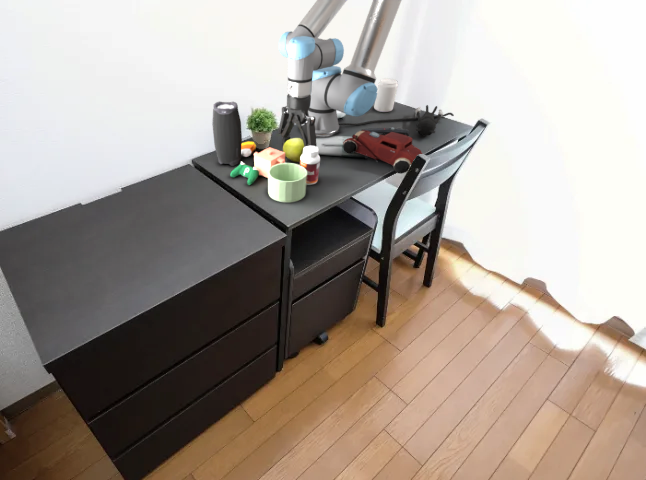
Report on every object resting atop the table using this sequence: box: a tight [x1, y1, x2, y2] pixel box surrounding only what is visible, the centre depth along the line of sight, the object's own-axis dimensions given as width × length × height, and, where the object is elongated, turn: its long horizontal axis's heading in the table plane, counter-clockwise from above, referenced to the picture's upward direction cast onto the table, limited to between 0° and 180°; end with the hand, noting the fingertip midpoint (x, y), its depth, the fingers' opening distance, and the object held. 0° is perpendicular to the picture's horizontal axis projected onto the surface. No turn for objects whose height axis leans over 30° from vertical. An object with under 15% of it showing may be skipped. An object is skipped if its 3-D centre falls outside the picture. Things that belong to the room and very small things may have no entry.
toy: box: [414, 104, 444, 137], centre depth 152 cm, size 11×6×30 cm
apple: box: [282, 137, 304, 163], centre depth 131 cm, size 8×9×8 cm
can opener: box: [360, 127, 410, 137], centre depth 142 cm, size 18×7×6 cm, turn 71°
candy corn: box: [241, 140, 257, 158], centre depth 137 cm, size 6×3×8 cm
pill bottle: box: [299, 146, 321, 186], centre depth 119 cm, size 6×6×11 cm
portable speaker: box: [211, 101, 243, 167], centre depth 127 cm, size 9×9×20 cm
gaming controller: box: [229, 161, 259, 186], centre depth 124 cm, size 9×4×6 cm
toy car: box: [342, 129, 423, 175], centre depth 129 cm, size 15×28×10 cm, turn 47°
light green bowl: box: [267, 162, 307, 203], centre depth 115 cm, size 12×12×7 cm
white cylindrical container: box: [373, 78, 399, 113], centre depth 164 cm, size 8×8×12 cm
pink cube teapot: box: [253, 147, 286, 179], centre depth 124 cm, size 8×12×8 cm, turn 51°
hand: (295, 160), depth 133 cm, fingers open, 9 cm apart
